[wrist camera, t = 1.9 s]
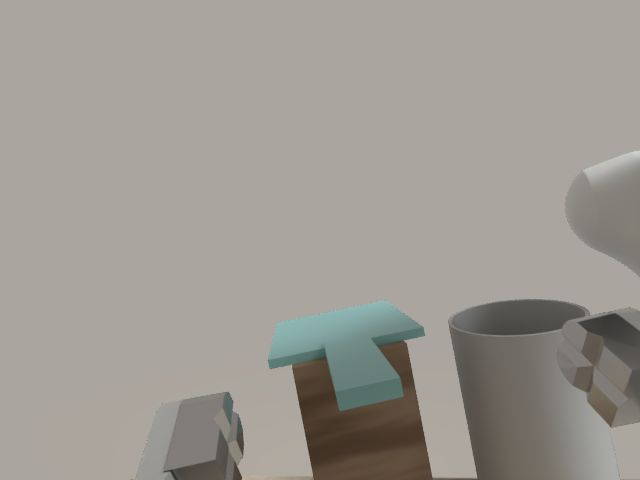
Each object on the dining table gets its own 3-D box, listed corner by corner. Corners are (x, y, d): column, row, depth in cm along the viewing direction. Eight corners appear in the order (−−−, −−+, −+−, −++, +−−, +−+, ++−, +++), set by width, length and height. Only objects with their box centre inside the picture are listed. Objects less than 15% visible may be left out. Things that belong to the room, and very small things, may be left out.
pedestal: (462, 635, 32) (406, 343, 31) (350, 665, 31) (292, 368, 31) (422, 540, 42) (380, 318, 41) (337, 561, 41) (293, 336, 41)
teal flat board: (482, 379, 22) (478, 360, 22) (257, 429, 21) (253, 409, 21) (386, 306, 46) (384, 297, 46) (278, 329, 45) (276, 319, 45)
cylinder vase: (486, 596, 34) (437, 338, 34) (494, 499, 45) (457, 303, 45) (659, 647, 28) (602, 334, 28) (620, 522, 39) (579, 295, 39)
